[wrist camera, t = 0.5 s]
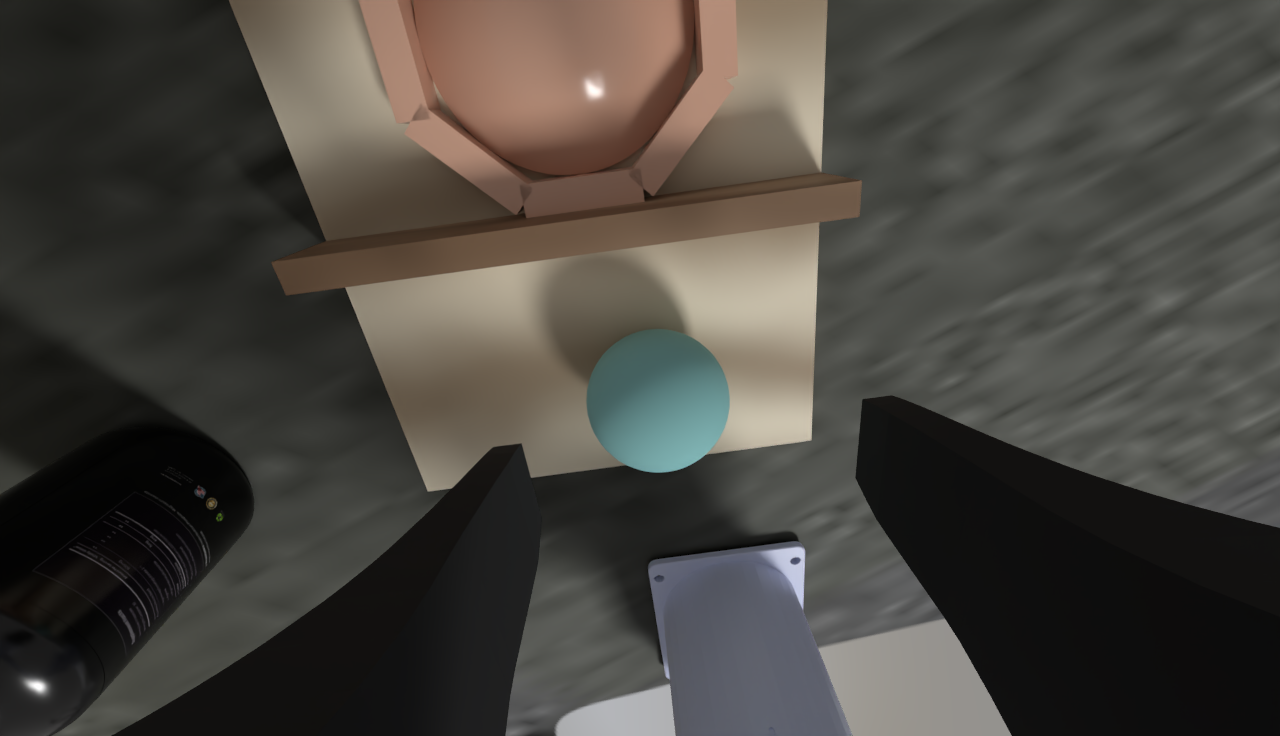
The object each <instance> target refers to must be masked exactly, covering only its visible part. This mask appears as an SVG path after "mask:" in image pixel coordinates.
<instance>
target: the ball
mask: <svg viewBox="0 0 1280 736" xmlns="http://www.w3.org/2000/svg"><path fill="white" fill-rule="evenodd" d="M586 403H587V413H588V417H589V421H590V424H591V427H592V429H593V432H594V434H595V435H596V437H597V439H598V440H599V442H600V443H601V445H602V446H603V447H604V448H605V449H606V451H608V452H609V453H610V454H611V455H612V456H613V457H614V458H616V459H617V460H619V461H620V462H621V463H623V464H625V465H627V466H630V467H632V468H635V469H638V470H641V471H646V472H656V473H662V472H670V471H676V470H679V469H682V468H685V467H687V466H689V465H691V464H693V463H695V462H696V461H698V460H699V459H701V458H702V457H703V456H704V455H706V454H707V453H708V452H709V451H710V450H711V449H712V448H713V446H714V445H715V444H716V442H717V441H718V439H719V438H720V436H721V434H722V432H723V430H724V428H725V425H726V422H727V419H728V414H729V408H730V395H729V387H728V383H727V380H726V377H725V374H724V372H723V369H722V367H721V366H720V364H719V363H718V361H717V360H716V358H715V356H714V355H713V354H712V353H711V352H710V351H709V350H708V349H707V348H706V347H705V346H703V345H702V344H701V343H700V342H698V341H697V340H695V339H694V338H692V337H690V336H688V335H686V334H683V333H680V332H676V331H672V330H667V329H648V330H643V331H639V332H636V333H633V334H630V335H628V336H626V337H624V338H622V339H621V340H619V341H618V342H616V343H615V344H614V345H612V346H611V347H610V348H609V349H608V350H607V351H606V352H605V353H604V354H603V355H602V357H601V358H600V359H599V361H598V362H597V364H596V366H595V368H594V370H593V372H592V374H591V377H590V380H589V384H588V389H587V399H586Z"/></svg>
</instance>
